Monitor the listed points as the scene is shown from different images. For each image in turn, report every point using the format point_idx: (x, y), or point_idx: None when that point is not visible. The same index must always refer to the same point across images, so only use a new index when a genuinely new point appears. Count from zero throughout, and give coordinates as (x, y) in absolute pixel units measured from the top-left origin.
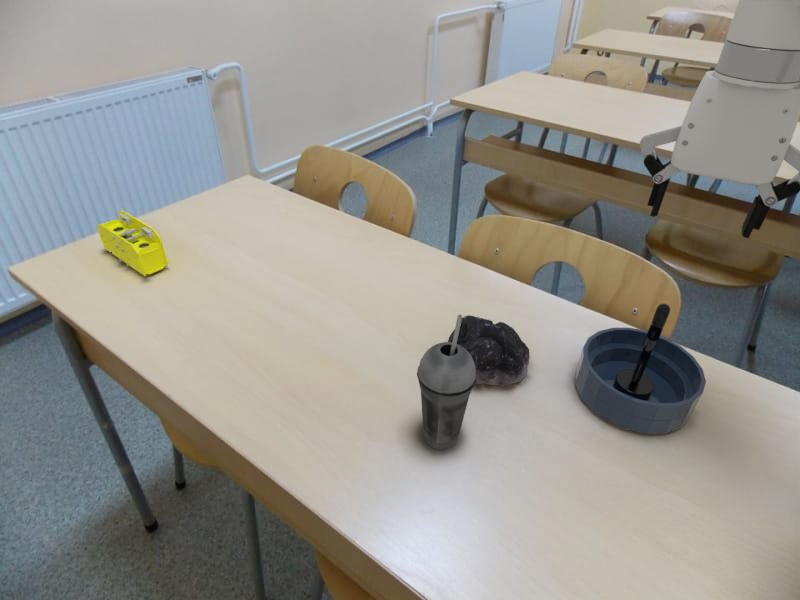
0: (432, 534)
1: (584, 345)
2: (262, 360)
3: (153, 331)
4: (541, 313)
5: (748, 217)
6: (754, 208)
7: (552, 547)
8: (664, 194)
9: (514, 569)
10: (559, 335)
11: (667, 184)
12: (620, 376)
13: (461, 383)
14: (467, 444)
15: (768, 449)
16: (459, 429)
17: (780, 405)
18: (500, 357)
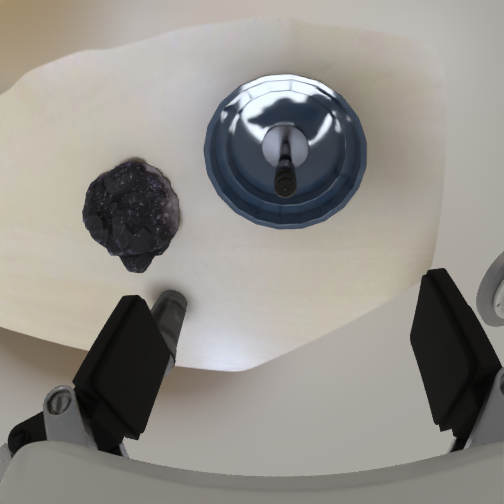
0: (223, 352)
1: (207, 171)
2: (53, 306)
3: (15, 317)
4: (127, 79)
5: (430, 357)
6: (433, 417)
7: (287, 329)
8: (130, 360)
9: (273, 347)
10: (166, 101)
11: (129, 424)
12: (266, 150)
13: (169, 371)
14: (193, 296)
15: (427, 145)
16: (183, 314)
17: (432, 67)
18: (150, 255)
